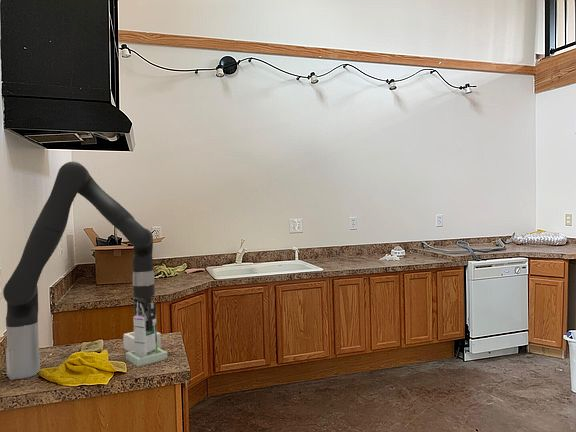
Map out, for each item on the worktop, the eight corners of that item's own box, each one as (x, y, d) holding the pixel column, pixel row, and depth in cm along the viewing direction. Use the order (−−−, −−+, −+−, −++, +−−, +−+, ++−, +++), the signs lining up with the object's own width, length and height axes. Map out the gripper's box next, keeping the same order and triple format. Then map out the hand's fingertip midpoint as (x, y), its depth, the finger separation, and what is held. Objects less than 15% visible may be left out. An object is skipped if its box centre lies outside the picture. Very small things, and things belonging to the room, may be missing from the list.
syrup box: (146, 357, 159) (144, 317, 158) (134, 355, 161) (133, 315, 161) (157, 353, 164) (156, 313, 163) (146, 351, 166) (145, 312, 166)
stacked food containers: (135, 355, 167) (134, 339, 167) (123, 349, 175) (123, 333, 175) (162, 349, 174) (161, 333, 174) (149, 343, 182) (149, 328, 182)
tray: (138, 366, 155) (137, 359, 155) (125, 359, 163) (125, 352, 163) (167, 358, 162) (167, 352, 162) (154, 352, 170) (154, 345, 170)
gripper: (125, 282, 165) (127, 327, 165) (141, 286, 154) (143, 334, 154) (145, 280, 170) (146, 323, 170) (162, 284, 159) (163, 330, 159)
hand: (145, 328), depth 162 cm, fingers closed on syrup box, 6 cm apart
